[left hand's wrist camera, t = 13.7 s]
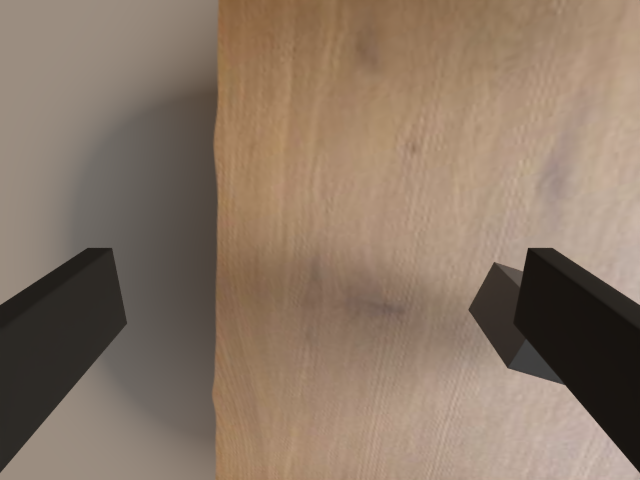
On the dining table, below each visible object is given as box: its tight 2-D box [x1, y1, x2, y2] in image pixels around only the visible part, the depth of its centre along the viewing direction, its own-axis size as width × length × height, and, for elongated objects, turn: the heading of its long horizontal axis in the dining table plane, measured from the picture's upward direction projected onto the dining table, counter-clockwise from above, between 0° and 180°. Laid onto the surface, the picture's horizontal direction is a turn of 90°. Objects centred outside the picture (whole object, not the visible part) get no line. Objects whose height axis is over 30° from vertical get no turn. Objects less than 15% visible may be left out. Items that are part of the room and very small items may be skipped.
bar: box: [469, 262, 565, 385], centre depth 33 cm, size 26×5×8 cm, turn 71°
